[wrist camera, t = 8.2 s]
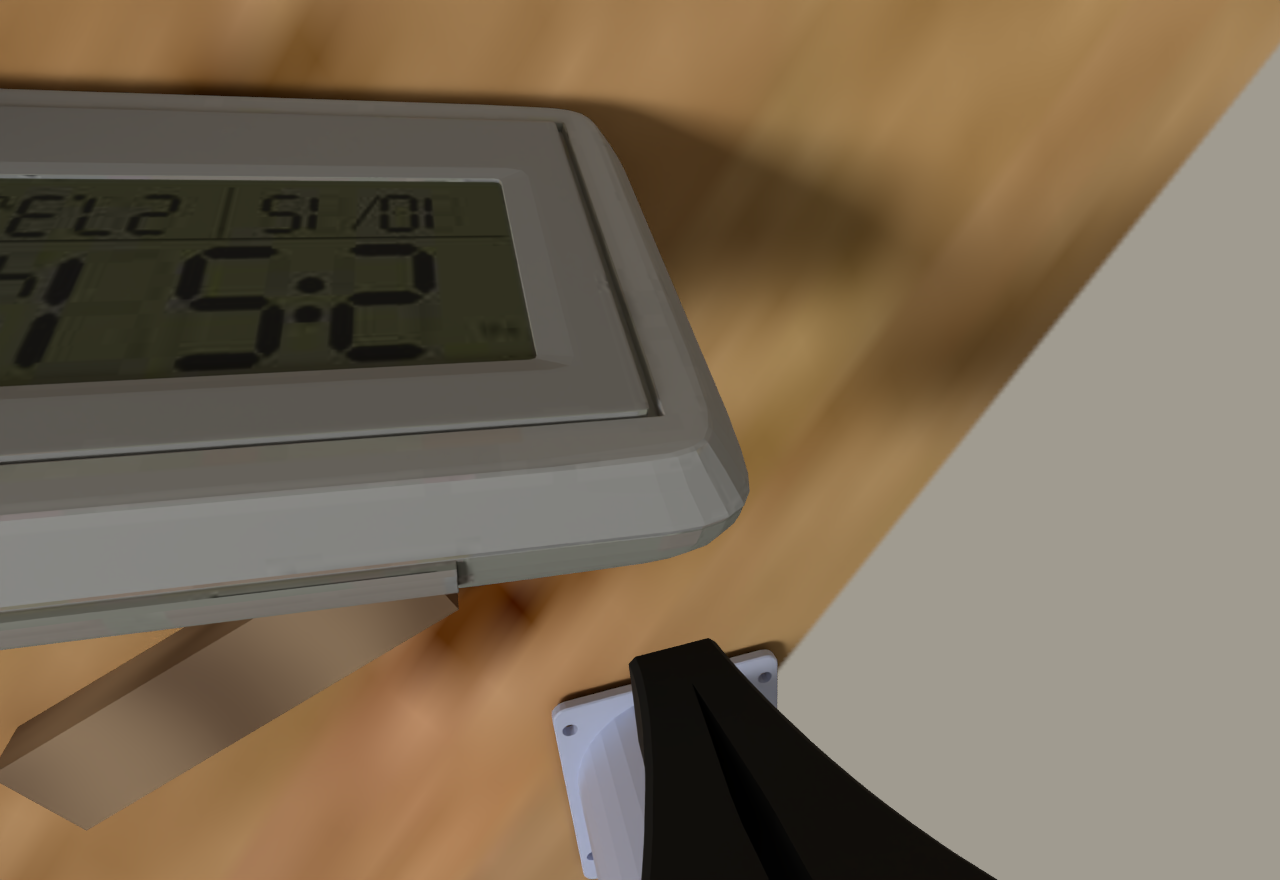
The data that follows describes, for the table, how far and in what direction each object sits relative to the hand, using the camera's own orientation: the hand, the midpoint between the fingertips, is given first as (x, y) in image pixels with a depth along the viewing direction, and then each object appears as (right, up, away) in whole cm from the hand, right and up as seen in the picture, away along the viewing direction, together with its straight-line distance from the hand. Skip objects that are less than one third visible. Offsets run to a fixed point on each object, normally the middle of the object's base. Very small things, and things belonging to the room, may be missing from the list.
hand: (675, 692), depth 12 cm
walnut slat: (-12, -2, +9) cm, 15 cm away
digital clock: (-9, +9, +5) cm, 13 cm away
